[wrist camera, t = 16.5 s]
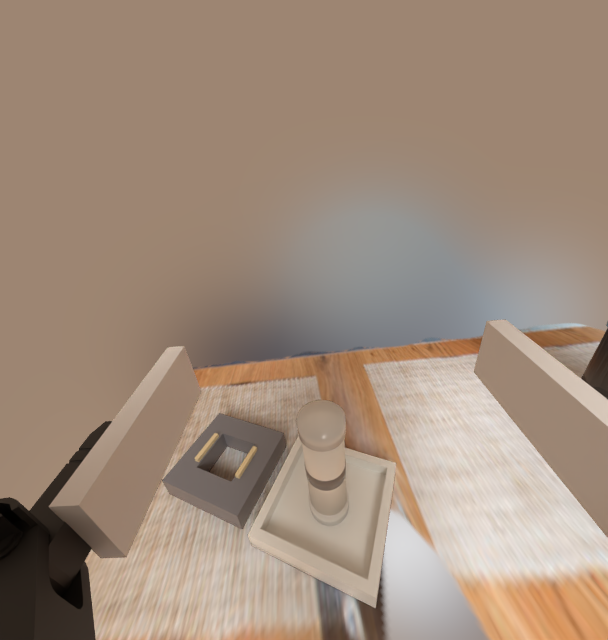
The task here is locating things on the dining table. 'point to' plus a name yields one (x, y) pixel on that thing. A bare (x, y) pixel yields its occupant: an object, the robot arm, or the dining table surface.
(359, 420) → the dining table surface
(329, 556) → the parts tray
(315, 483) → the cylinder
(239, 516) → the fuse socket
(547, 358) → the robot arm
